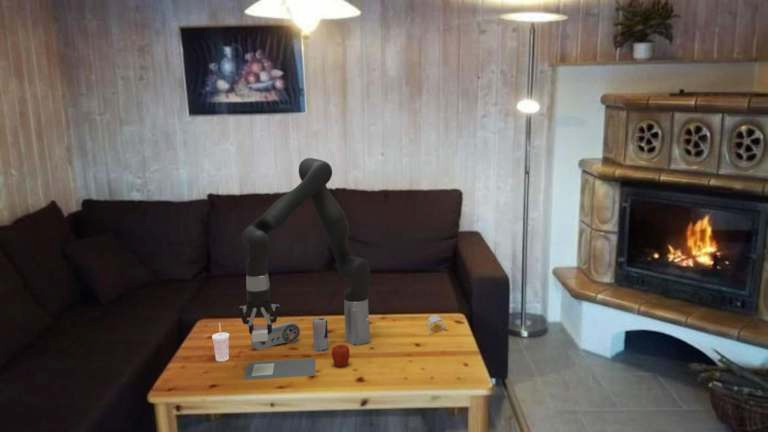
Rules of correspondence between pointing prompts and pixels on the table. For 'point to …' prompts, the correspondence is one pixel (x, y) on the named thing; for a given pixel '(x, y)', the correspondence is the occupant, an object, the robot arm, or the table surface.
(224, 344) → the beverage cup
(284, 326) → the game controller
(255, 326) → the pink-tipped white block
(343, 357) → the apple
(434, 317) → the origami figure
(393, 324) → the table surface
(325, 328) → the energy drink
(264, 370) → the mat
